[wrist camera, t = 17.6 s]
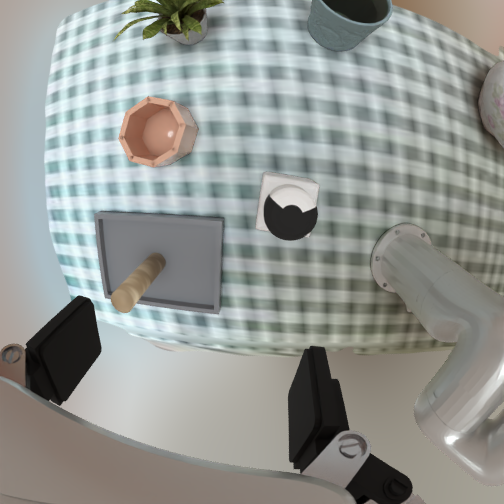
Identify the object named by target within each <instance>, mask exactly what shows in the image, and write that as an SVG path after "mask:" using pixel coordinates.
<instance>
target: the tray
mask: <svg viewBox="0 0 504 504" xmlns="http://www.w3.org/2000/svg"><path fill="white" fill-rule="evenodd" d="M94 217H95V230H96V240H97V249H98V257H99V264H100V271H101V278H102V284H103V290H104V295H105V298H108V299H111V295H112V293H113V292H114V291H115V290H116V289H117V288H118V287H119V286H120V285H121V284H122V283H123V282H124V281H125V280H126V279H127V278H128V277H129V276H130V275H131V274H132V273H133V272H134V271H135V269H136V268H137V267H138V266H139V265H140V264H141V263H142V262H143V261H144V260H145V259H146V258H147V257H148V256H150V255H151V254H152V253H159V254H161V255H162V256H163V257H164V258H165V261H166V265H165V267H164V268H163V270H162V271H161V272H160V273H159V275H158V276H157V277H156V278H155V280H154V281H153V282H152V284H151V285H150V286H149V287H148V289H147V290H146V291H145V293H144V294H143V295H142V296H141V298H140V299H139V300H138V302H137V304H143V305H150V306H157V307H164V308H171V309H178V310H186V311H194V312H202V313H211V314H219V312H220V308H221V276H222V250H223V228H224V218H219V217H205V216H190V215H173V214H156V213H136V212H112V211H100V212H98V213H96V214H94Z"/></svg>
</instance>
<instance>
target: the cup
mask: <svg viewBox="0 0 504 504" xmlns="http://www.w3.org/2000/svg"><path fill="white" fill-rule="evenodd" d="M197 132H198V127H197V125H196V123H195V121H194V119H193V117H192V116H191V114H190V112H189V110H188V108H186V107H184V106H182V105H180V104H178V103H176V102H174V101H170V100H165V99H160V98H154V97H149V96H148V97H147V98H145V99H144V100H142V101H141V102H139V103H138V104H137V105H135V106H134V107H132V108H131V109H129V110H128V111H127V112H126V113H125V117H124V120H123V124H122V127H121V131H120V134H119V138H118V139H119V141H120V143H121V145H122V147H123V149H124V151H125V153H126V155H127V157H128V159H129V161H132V162H136V163H140V164H143V165H147V166H151V167H159V166H164V165H170V164H172V163H174V162H175V161H177V160H179V159H180V158H182V157H184V156H185V155H187V154H189V153H191V151H192V148H193V145H194V142H195V138H196V135H197Z"/></svg>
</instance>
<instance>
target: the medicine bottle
mask: <svg viewBox="0 0 504 504" xmlns="http://www.w3.org/2000/svg"><path fill="white" fill-rule="evenodd" d="M318 192H319V184H317V183H316V182H314V181H312V180H311V179H308V178H303V177H297V176H292V175H286V174H280V173H273V172H267V171H265V172H264V173H263V177H262V184H261V191H260V197H259V204H258V210H257V218H256V229H257V230H263V231H270V232H271V233H272V234H273V235H275V236H276V237H278V238H280V239H283V240H298V239H301V238H303V237H309V236H310V232H311V231H312V229H313V228H314V226H315V224H316V221H317V217H318V211H317V206H316V202H317V197H318Z"/></svg>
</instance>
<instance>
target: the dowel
mask: <svg viewBox="0 0 504 504" xmlns="http://www.w3.org/2000/svg"><path fill="white" fill-rule="evenodd" d="M165 265H166V261H165V258H164V257H163V256H162V255H161V254H159V253H152V254H151V255H150V256H148V257H147V258H146V259H145V260H144V261H143V262H142V263H141V264H140V265H139V266H138V267H137V268H136V269H135V271H134V272H133V273H132V274H131V275H130V276H129V277H128V278H127V279H126V280H125V281H124V282H123V283H122V284H121V285H120V286H119V287H118V288H117V289H116V290H115V291H114V292H113V293H112V295H111V302H112V305H113V306H114V307H115V309H117V310H118V311H120V312H122V313H128V312H130V311H131V310H132V308H133V307H134V306H135V304H136V303H137V302H138V300H139V299H140V298H141V296H142V295H143V294H144V293H145V291H146V290H147V289H148V287H149V286H150V285H151V284H152V282H153V281H154V280H155V278H156V277H157V276H158V275H159V273H160V272H161V271H162V270H163V268H164V267H165Z"/></svg>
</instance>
